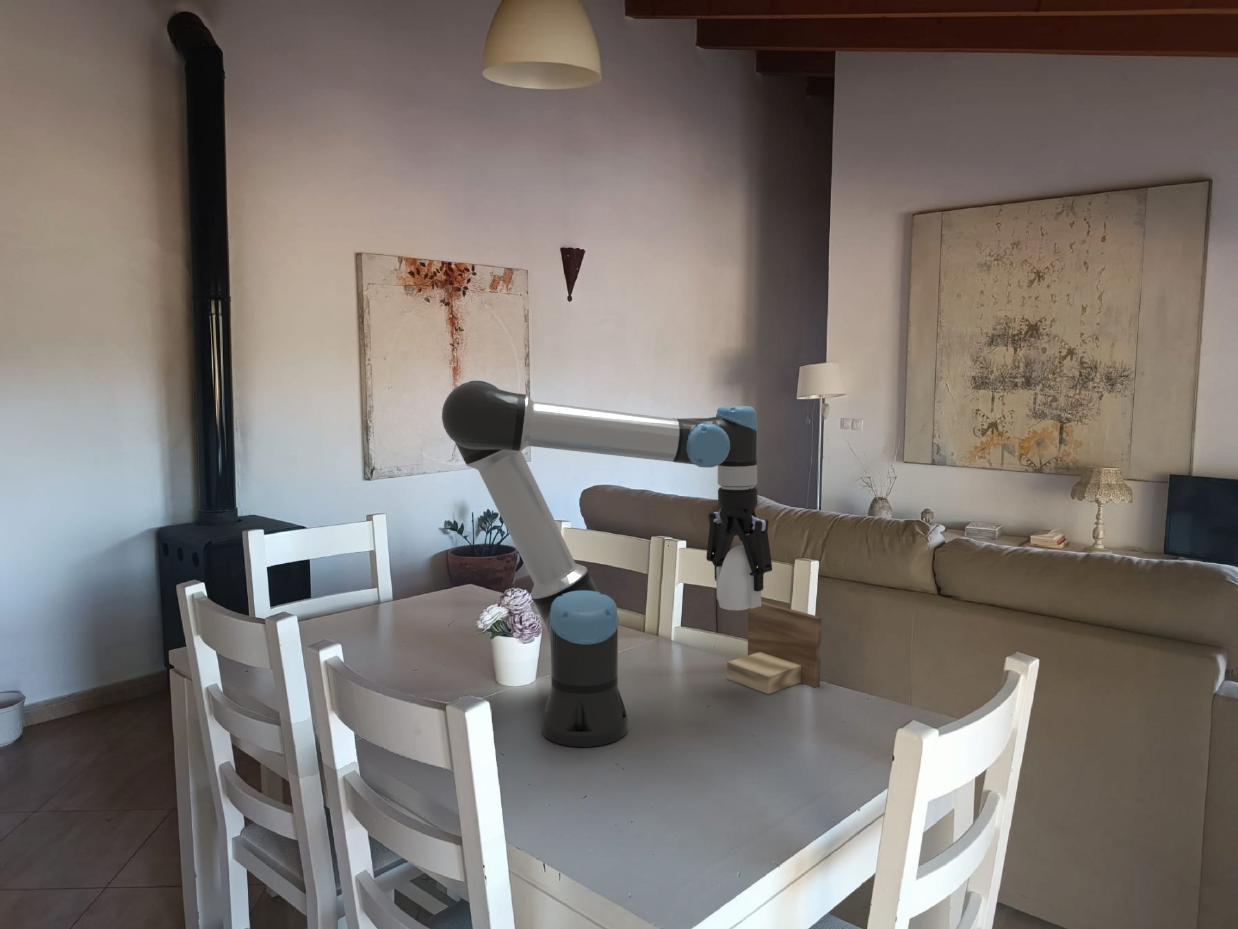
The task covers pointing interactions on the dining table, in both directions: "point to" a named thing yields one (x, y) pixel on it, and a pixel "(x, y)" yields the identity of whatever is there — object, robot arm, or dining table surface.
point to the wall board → (779, 650)
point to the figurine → (734, 580)
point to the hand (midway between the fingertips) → (738, 602)
